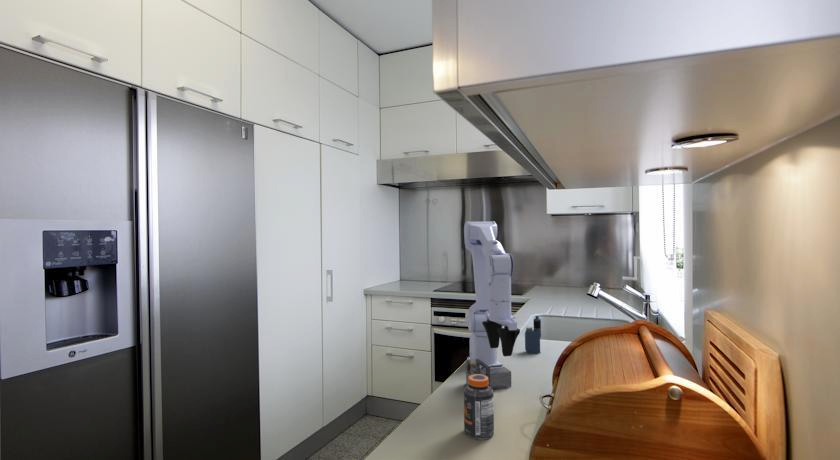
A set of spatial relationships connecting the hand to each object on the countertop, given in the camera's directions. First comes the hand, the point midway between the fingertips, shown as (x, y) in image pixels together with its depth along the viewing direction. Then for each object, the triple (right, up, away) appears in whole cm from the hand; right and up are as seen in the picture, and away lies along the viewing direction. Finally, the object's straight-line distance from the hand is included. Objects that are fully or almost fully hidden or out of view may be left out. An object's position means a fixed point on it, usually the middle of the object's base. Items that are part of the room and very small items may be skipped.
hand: (500, 351), depth 111 cm
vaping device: (+16, -9, +29) cm, 35 cm away
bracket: (-5, -9, -2) cm, 10 cm away
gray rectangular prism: (-3, -9, -1) cm, 10 cm away
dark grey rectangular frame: (-7, -9, -2) cm, 12 cm away
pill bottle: (-9, -9, -27) cm, 30 cm away
